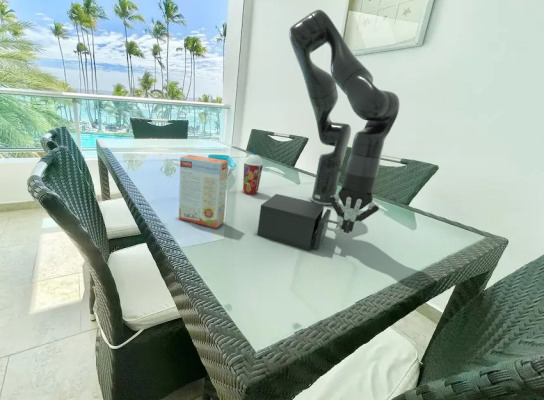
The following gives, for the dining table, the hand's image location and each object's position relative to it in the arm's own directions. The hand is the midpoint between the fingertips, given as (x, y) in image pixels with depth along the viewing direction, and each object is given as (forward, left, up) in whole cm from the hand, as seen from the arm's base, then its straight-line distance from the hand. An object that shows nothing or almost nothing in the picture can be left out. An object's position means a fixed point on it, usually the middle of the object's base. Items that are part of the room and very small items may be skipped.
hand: (346, 231), depth 77 cm
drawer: (0, -11, -5) cm, 12 cm away
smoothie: (-31, -43, -6) cm, 53 cm away
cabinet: (0, -16, -6) cm, 17 cm away
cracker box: (+9, -43, -6) cm, 44 cm away
